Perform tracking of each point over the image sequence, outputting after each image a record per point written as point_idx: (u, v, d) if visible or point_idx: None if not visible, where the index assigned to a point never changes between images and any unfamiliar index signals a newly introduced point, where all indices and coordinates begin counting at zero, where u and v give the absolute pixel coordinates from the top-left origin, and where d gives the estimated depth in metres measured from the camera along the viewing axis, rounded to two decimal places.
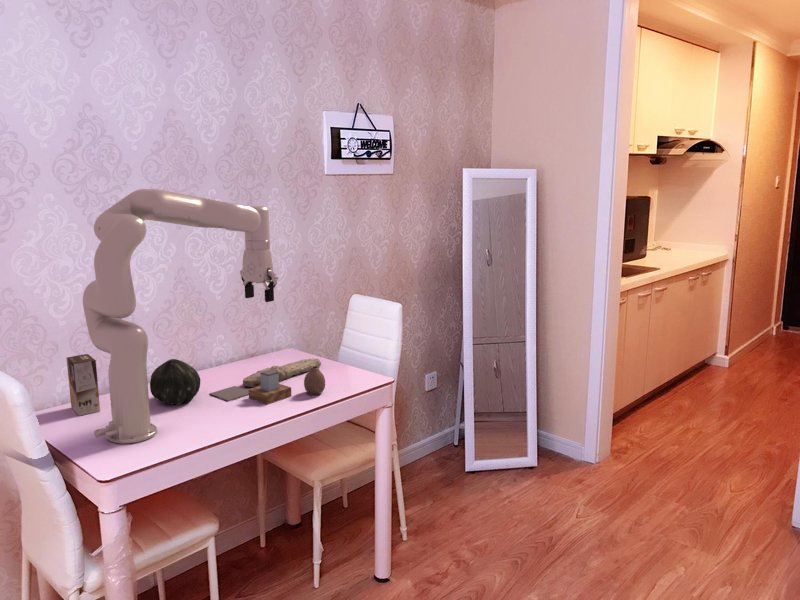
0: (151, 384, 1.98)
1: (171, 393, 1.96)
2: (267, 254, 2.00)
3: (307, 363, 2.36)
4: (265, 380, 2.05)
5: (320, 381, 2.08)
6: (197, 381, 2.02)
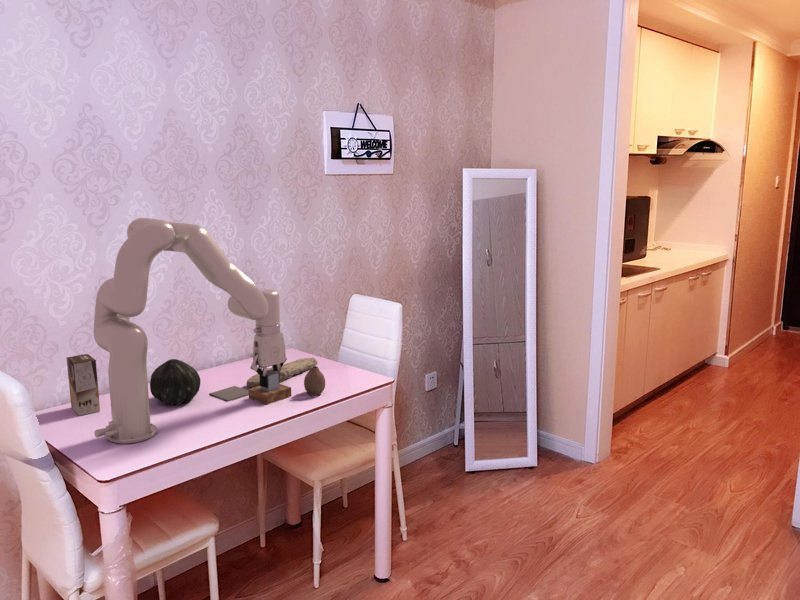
0: (151, 384, 1.98)
1: (171, 393, 1.96)
2: None
3: (305, 362, 2.37)
4: None
5: (320, 381, 2.08)
6: (197, 381, 2.02)
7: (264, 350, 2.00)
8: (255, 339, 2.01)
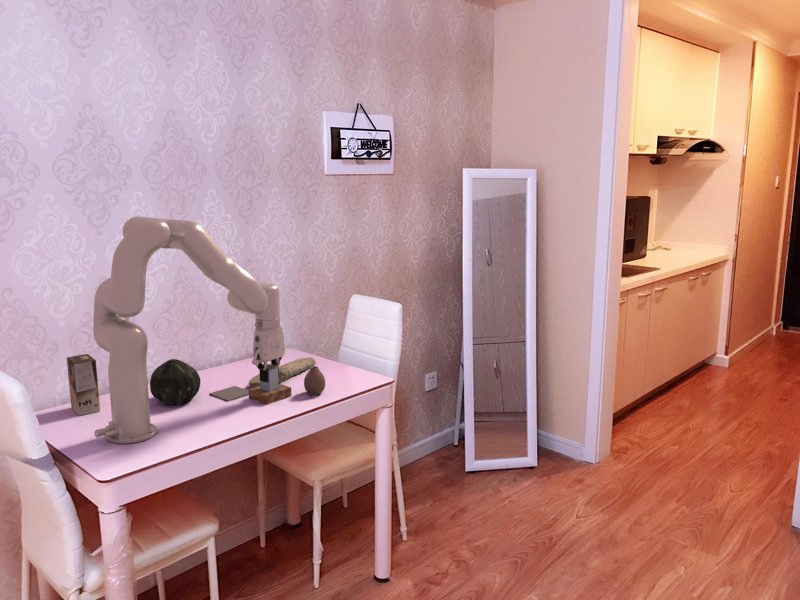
0: (151, 384, 1.98)
1: (171, 393, 1.96)
2: None
3: (304, 362, 2.37)
4: None
5: (320, 381, 2.08)
6: (197, 381, 2.02)
7: (266, 344, 1.99)
8: (256, 334, 2.00)
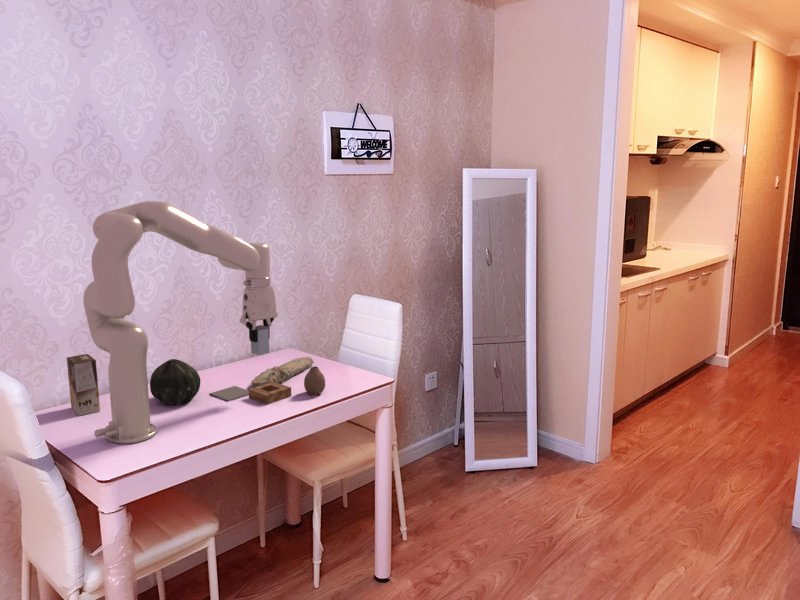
0: (151, 384, 1.98)
1: (171, 393, 1.96)
2: None
3: (302, 362, 2.38)
4: None
5: (320, 381, 2.08)
6: (197, 381, 2.02)
7: (253, 303, 1.98)
8: (245, 292, 1.98)
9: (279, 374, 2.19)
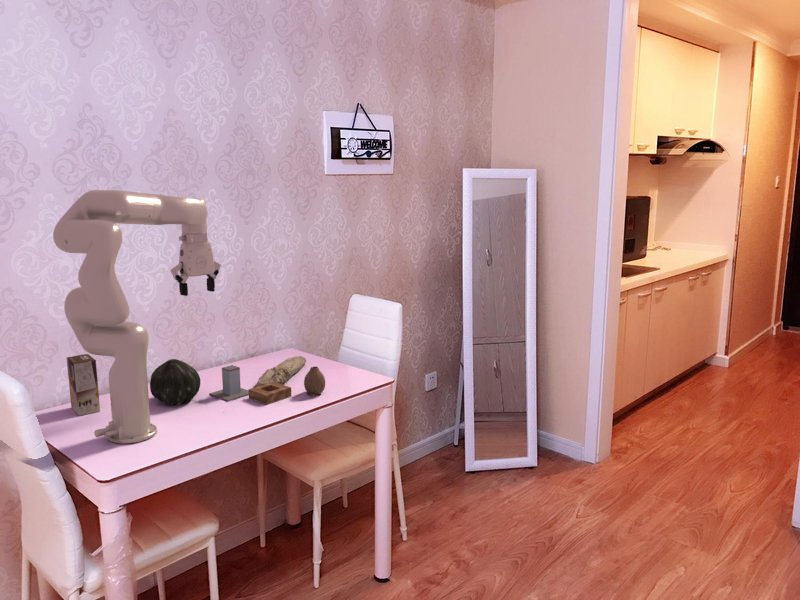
0: (151, 384, 1.98)
1: (171, 393, 1.96)
2: None
3: (297, 361, 2.39)
4: (226, 376, 2.07)
5: (320, 381, 2.08)
6: (197, 381, 2.02)
7: (189, 258, 1.97)
8: (181, 248, 1.98)
9: (284, 374, 2.19)
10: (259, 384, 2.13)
